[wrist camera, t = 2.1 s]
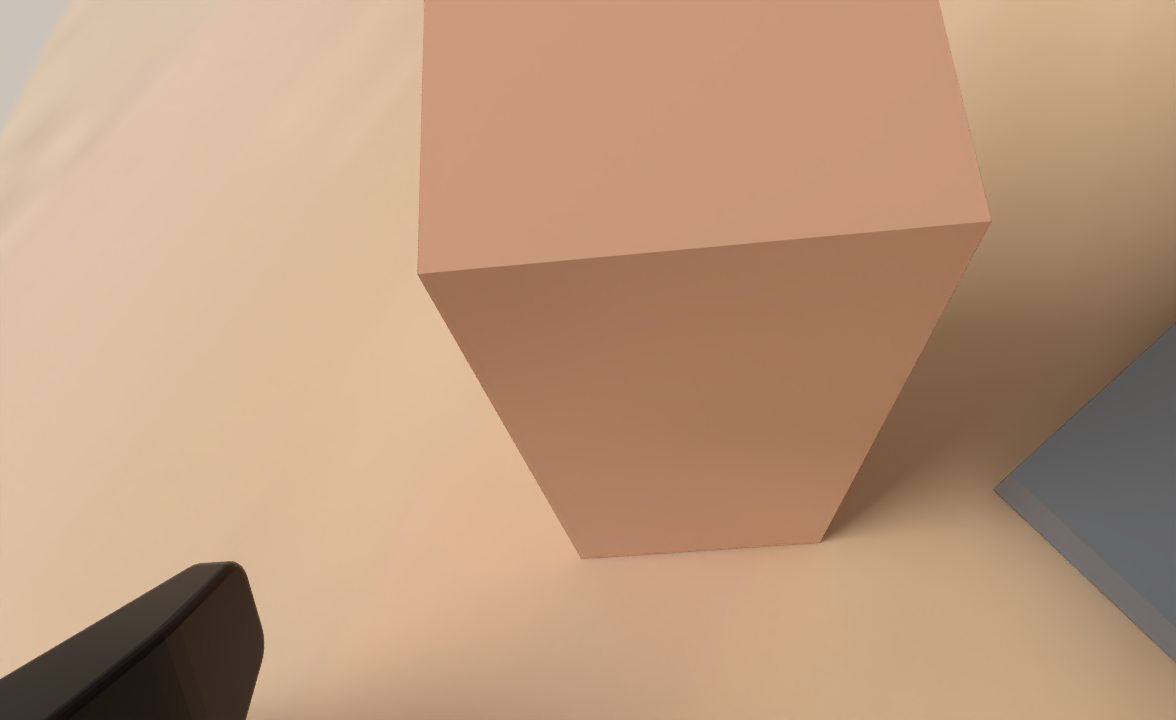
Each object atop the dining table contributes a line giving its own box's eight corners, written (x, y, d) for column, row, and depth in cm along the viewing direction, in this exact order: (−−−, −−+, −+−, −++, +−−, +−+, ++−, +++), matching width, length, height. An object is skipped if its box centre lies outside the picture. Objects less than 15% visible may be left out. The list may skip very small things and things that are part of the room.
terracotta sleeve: (819, 542, 20) (991, 220, 8) (580, 559, 21) (418, 273, 9) (789, 324, 22) (893, -190, 10) (572, 343, 23) (428, -131, 11)
